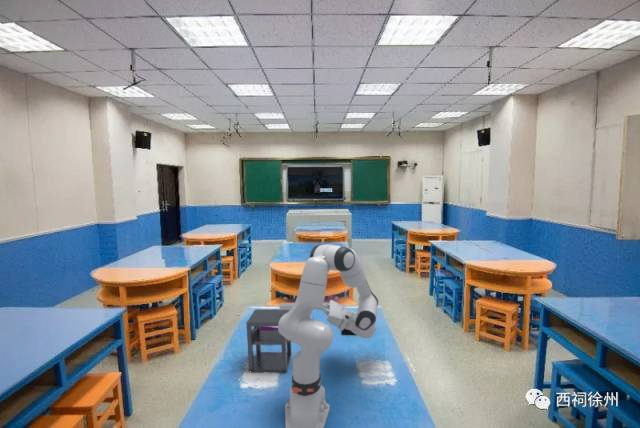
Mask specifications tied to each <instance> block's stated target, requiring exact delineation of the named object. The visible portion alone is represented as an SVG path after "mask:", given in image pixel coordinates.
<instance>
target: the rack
mask: <svg viewBox="0 0 640 428" xmlns="http://www.w3.org/2000/svg"><path fill="white" fill-rule="evenodd" d="M289 311H290V310H280V308H279V309H278V308H277V309H273V308H272V309H254V310H253V312H252V314H251V315H250V317H249V318H248V319H247V321H246V339H247V356H248V372H249V371H251V372H250V373H264V372H269V373H275V374H276V373H280V374H283V373H286V374H287V373H288V370H289V367H290V362H291V358H292V354H293V353H292V341H289V340H287V339H286V338H284V337H283V336H282V335H281V334H280V333H279V331H260V327H278V323H279V320H280V319H281V317H282V316H283V315H284V314H286V313H288V312H289ZM254 345H255V348H256V349H255V350H256V354H255V357H254ZM262 345H263V346H266V345H267V346H269V345H270V346H271V345H272V346H275V345H276V346H278V345H279V346H280V345H281V352H274V351H273V352H267V351H266V352H265V351H262Z"/></svg>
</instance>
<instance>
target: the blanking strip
mask: <svg viewBox="0 0 640 428" xmlns="http://www.w3.org/2000/svg"><path fill="white" fill-rule="evenodd" d="M294 303H295V302H280V304H279V306H278V307H279V309H280V310H291V308H292V307H293V305H294ZM327 303H328V302H323V304H322V306H324V308H326V309H328V308H327ZM316 310H320V307H319V308H317V309H316Z"/></svg>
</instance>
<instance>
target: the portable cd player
mask: <svg viewBox="0 0 640 428" xmlns="http://www.w3.org/2000/svg"><path fill="white" fill-rule="evenodd" d="M341 336H357V335H356V334H355V333H353V332H352V331H351V330H348V329H345V328H344V329H343V330H342V331H341Z"/></svg>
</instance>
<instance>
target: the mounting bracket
mask: <svg viewBox="0 0 640 428" xmlns="http://www.w3.org/2000/svg"><path fill="white" fill-rule="evenodd" d="M260 331H278V327H260Z"/></svg>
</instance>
